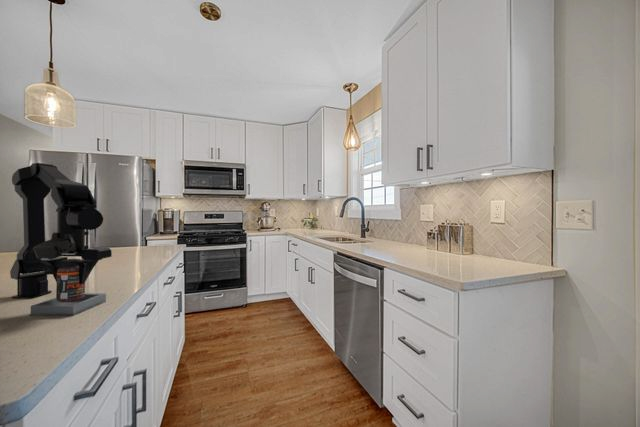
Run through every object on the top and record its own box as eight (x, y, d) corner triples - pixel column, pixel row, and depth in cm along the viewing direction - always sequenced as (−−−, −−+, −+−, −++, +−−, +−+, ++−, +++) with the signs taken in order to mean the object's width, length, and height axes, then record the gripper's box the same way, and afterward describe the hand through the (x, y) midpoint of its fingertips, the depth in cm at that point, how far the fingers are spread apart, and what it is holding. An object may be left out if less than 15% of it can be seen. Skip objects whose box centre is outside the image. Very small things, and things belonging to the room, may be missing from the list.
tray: (30, 315, 70) (30, 305, 70) (69, 301, 81) (69, 293, 81) (73, 315, 71) (73, 306, 71) (105, 301, 82) (105, 293, 82)
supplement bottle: (67, 304, 73) (67, 262, 72) (50, 302, 74) (50, 260, 74) (90, 297, 78) (90, 258, 78) (74, 295, 80) (74, 257, 80)
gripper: (4, 229, 68) (4, 291, 68) (80, 231, 68) (79, 292, 68) (48, 227, 79) (48, 280, 79) (113, 228, 79) (112, 281, 79)
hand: (71, 283), depth 76 cm, fingers closed on supplement bottle, 6 cm apart
